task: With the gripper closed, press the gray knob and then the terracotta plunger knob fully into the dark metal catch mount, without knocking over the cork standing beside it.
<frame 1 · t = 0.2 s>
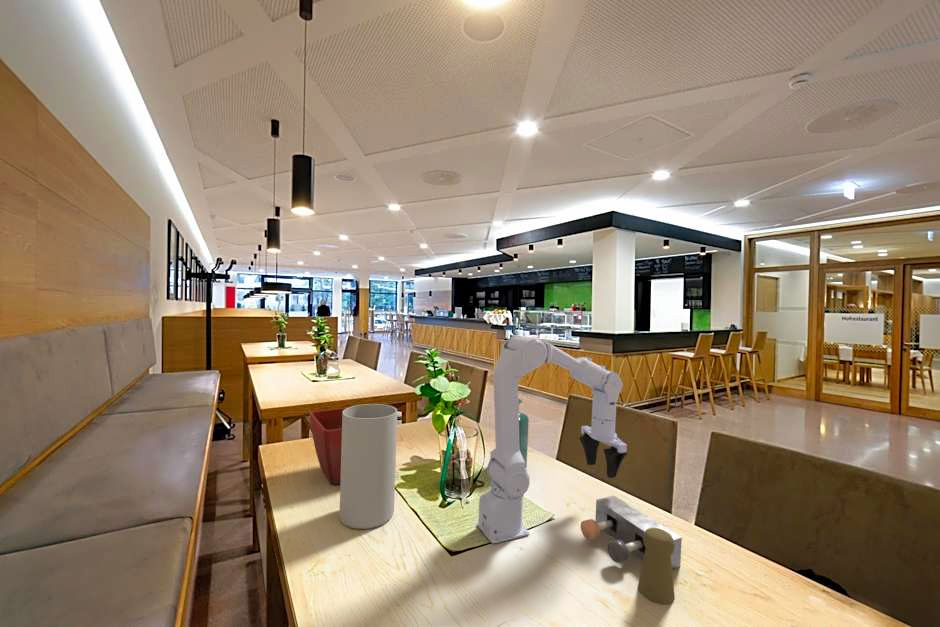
hand: (601, 470, 99), 10 cm above the table, fingers open, 7 cm apart
gray knob: (627, 548, 78), point 3 cm above the table, slide at 5.0 cm
terracotta knob: (598, 526, 86), point 3 cm above the table, slide at 5.0 cm
plant pot: (348, 473, 114), on the table
green bottle: (508, 468, 122), on the table
catch mount: (633, 544, 85), on the table
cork: (655, 592, 71), on the table
cylinder vase: (367, 516, 92), on the table
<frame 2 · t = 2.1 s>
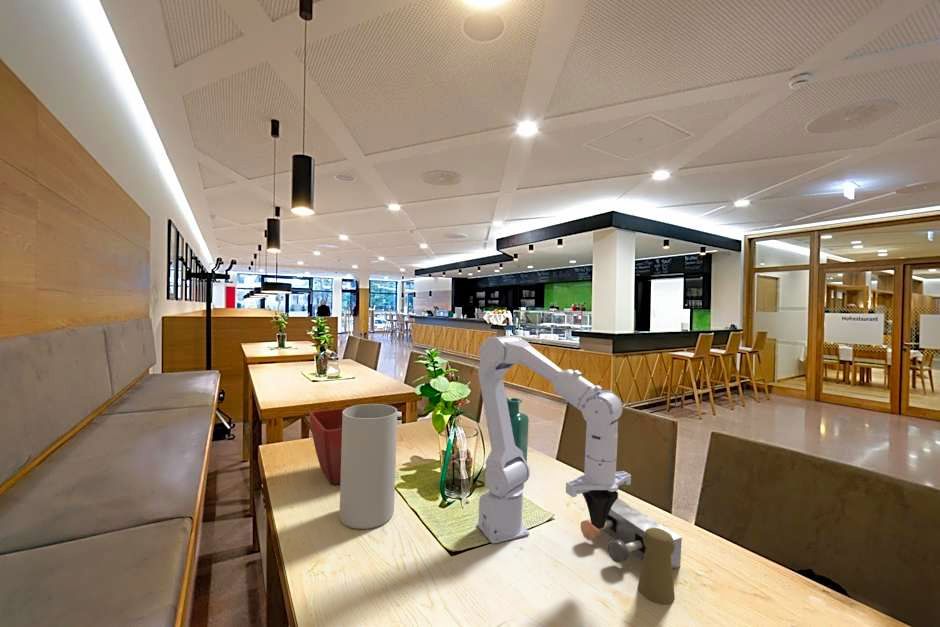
hand: (597, 525, 75), 9 cm above the table, fingers closed
nothing on the table moved.
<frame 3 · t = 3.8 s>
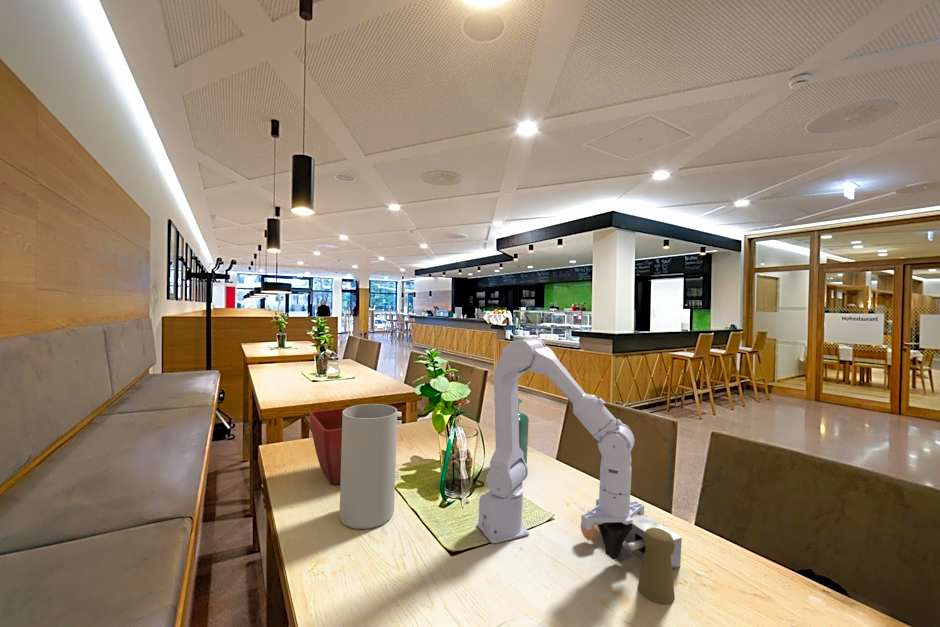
hand: (611, 555, 77), 2 cm above the table, fingers closed
gray knob: (629, 547, 79), point 3 cm above the table, slide at 4.3 cm, touching gripper
everything else where it was.
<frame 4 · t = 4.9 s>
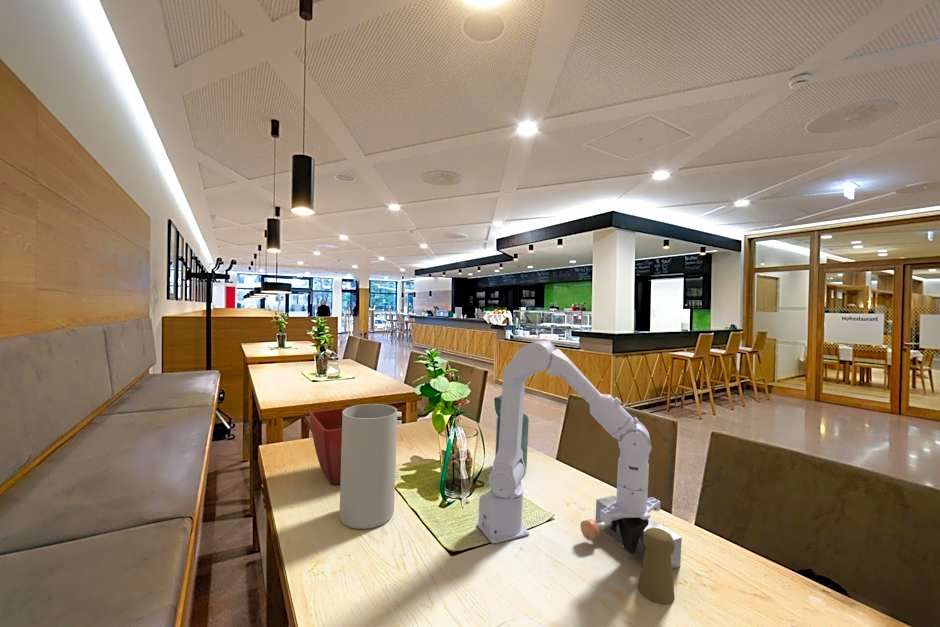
hand: (629, 550, 79), 2 cm above the table, fingers closed
gray knob: (645, 542, 81), point 3 cm above the table, slide at -0.1 cm, touching gripper
everything else where it was.
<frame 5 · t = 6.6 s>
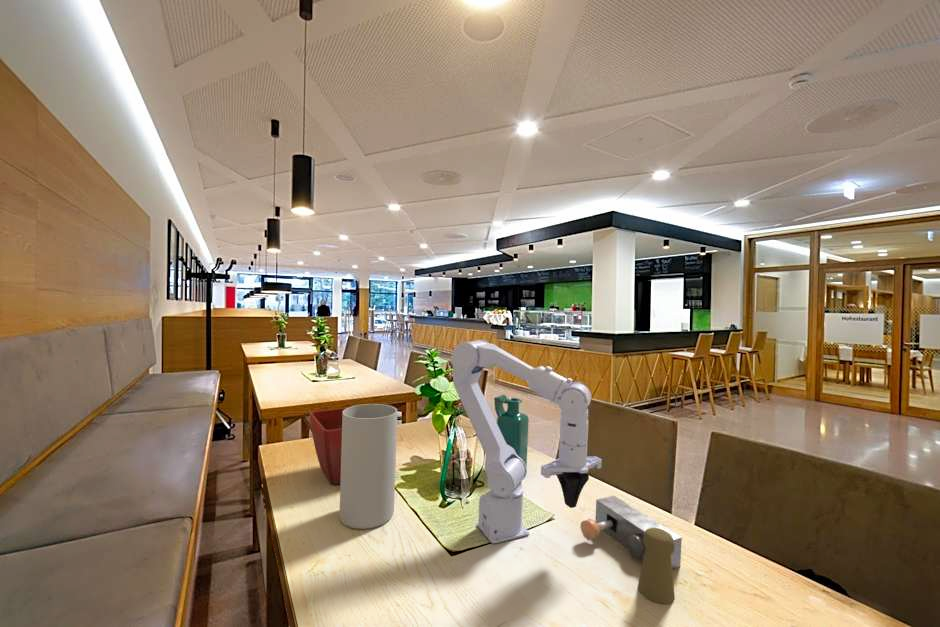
hand: (570, 505, 82), 9 cm above the table, fingers closed
gray knob: (645, 542, 81), point 3 cm above the table, slide at 0.0 cm
everything else where it was.
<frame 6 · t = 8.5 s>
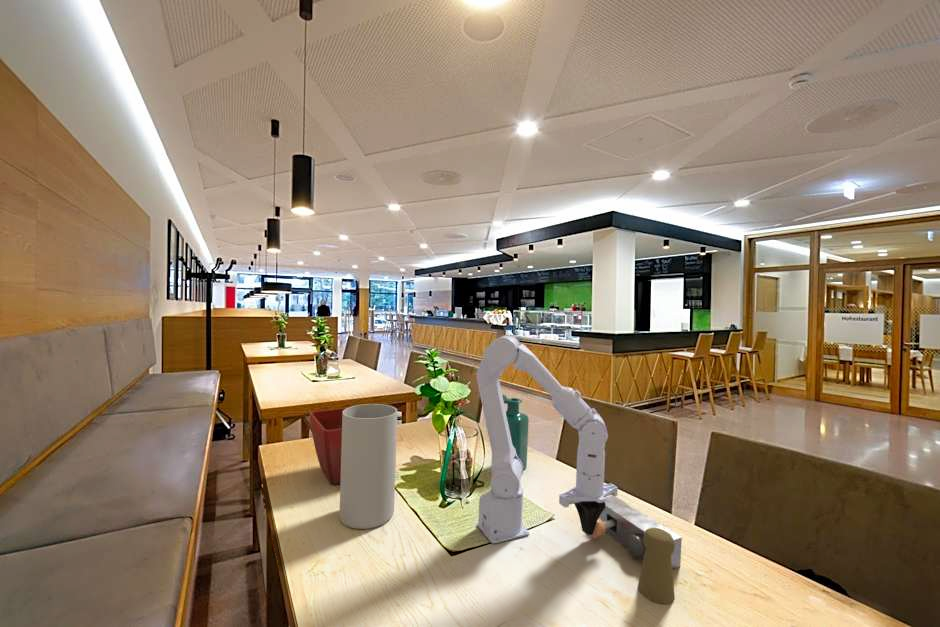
hand: (587, 532, 84), 2 cm above the table, fingers closed
terracotta knob: (604, 525, 86), point 3 cm above the table, slide at 3.3 cm, touching gripper
everything else where it was.
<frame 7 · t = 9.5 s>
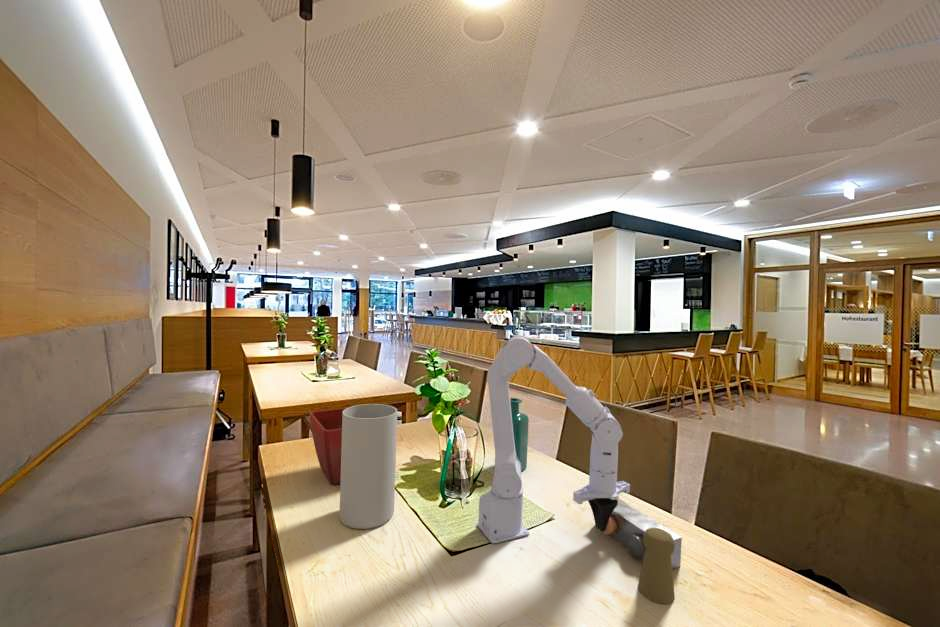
hand: (600, 528, 86), 2 cm above the table, fingers closed
terracotta knob: (616, 522, 88), point 3 cm above the table, slide at -0.1 cm, touching gripper
everything else where it was.
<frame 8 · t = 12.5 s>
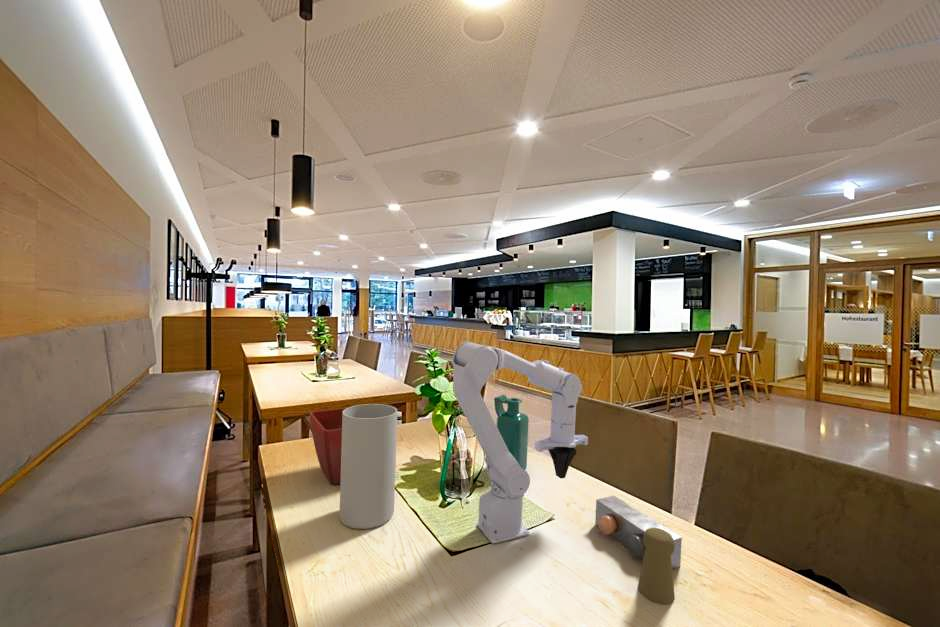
hand: (560, 476, 95), 10 cm above the table, fingers closed
terracotta knob: (615, 522, 88), point 3 cm above the table, slide at 0.0 cm
everything else where it was.
at the end: gray knob slide at 0.0 cm; terracotta knob slide at 0.0 cm; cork tilted 0° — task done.
